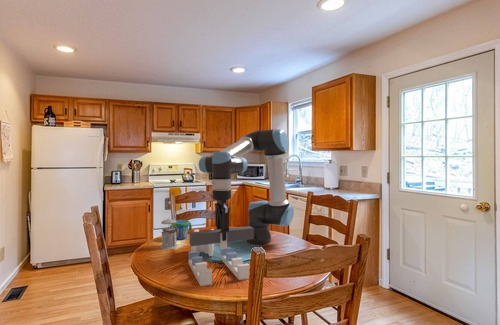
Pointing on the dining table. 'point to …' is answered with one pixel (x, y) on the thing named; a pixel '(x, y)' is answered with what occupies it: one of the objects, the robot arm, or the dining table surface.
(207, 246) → the cable organizer
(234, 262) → the white notched holder
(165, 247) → the french press
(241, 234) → the dark gray bar
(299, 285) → the dining table surface
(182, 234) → the snack cup
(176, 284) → the dining table surface
